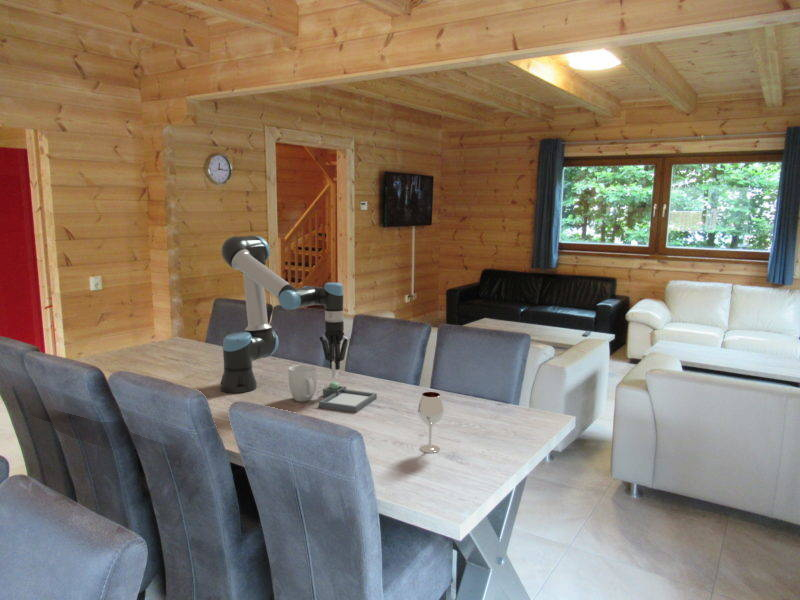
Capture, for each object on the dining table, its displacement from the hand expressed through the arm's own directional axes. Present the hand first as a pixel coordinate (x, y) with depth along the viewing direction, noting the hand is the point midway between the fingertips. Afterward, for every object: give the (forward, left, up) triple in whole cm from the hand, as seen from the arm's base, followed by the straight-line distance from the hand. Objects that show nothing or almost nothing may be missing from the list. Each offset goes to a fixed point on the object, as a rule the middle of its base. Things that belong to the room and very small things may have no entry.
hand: (335, 376), depth 241 cm
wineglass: (+55, -39, -8) cm, 68 cm away
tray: (+10, -7, -8) cm, 14 cm away
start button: (0, 0, -5) cm, 5 cm away
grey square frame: (0, 0, -8) cm, 8 cm away
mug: (-8, -11, -8) cm, 16 cm away
